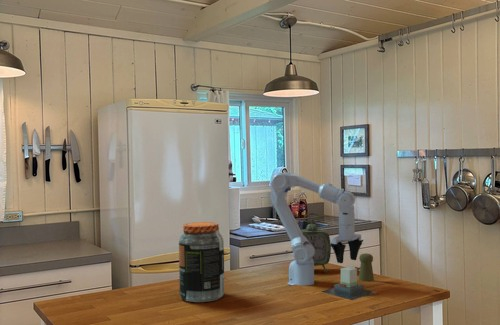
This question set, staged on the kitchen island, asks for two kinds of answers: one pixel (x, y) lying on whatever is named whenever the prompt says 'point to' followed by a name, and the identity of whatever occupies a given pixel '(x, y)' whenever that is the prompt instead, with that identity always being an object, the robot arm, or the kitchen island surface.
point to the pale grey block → (349, 276)
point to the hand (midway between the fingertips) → (346, 261)
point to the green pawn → (366, 267)
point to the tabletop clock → (318, 242)
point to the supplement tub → (201, 262)
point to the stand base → (348, 291)
